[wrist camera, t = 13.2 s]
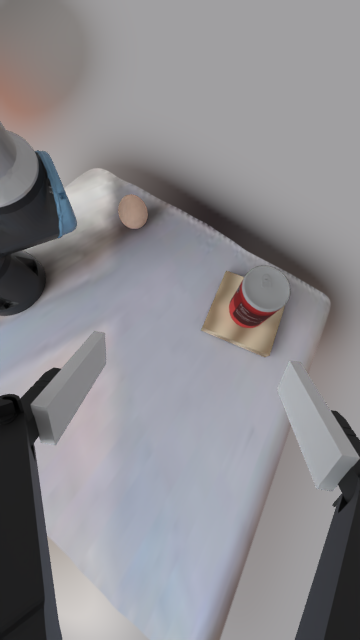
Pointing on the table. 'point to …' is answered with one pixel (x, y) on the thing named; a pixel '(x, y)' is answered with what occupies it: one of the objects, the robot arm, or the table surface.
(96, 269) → the table surface
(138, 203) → the egg
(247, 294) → the canned food
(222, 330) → the maple stand
